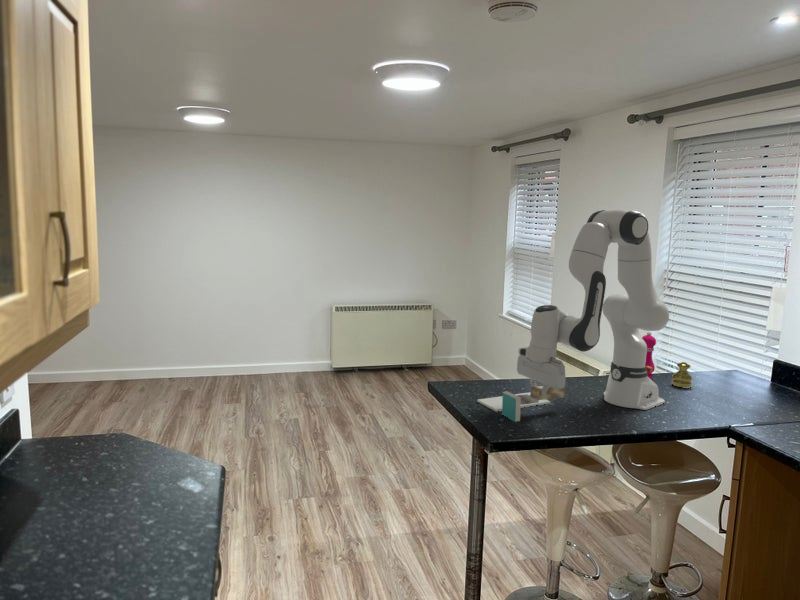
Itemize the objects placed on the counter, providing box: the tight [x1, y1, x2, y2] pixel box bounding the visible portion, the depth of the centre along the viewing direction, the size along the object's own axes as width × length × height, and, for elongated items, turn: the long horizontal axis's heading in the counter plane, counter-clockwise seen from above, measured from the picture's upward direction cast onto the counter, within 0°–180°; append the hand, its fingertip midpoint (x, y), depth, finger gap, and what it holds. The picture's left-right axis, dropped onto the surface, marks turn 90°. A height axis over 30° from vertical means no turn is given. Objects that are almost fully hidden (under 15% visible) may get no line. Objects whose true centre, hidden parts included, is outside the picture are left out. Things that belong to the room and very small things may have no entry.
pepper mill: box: [641, 331, 657, 380], centre depth 248 cm, size 7×7×20 cm
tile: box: [501, 390, 521, 423], centre depth 192 cm, size 2×7×8 cm, turn 28°
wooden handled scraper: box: [517, 385, 566, 405], centre depth 197 cm, size 21×6×4 cm, turn 118°
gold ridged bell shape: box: [671, 361, 693, 388], centre depth 239 cm, size 7×8×10 cm
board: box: [476, 391, 551, 413], centre depth 208 cm, size 24×11×1 cm, turn 118°
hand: (538, 394), depth 197 cm, fingers closed on wooden handled scraper, 2 cm apart
